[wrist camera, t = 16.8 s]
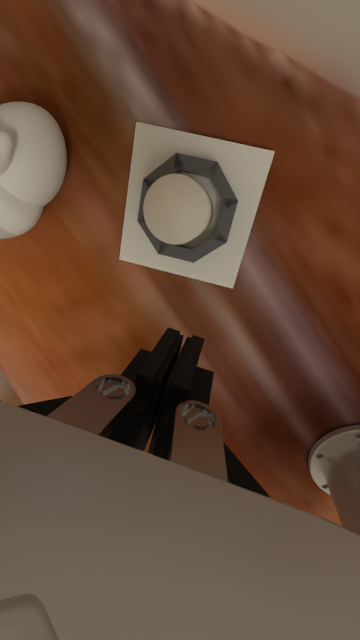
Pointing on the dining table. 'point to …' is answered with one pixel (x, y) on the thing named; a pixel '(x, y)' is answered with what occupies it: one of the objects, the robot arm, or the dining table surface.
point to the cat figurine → (28, 165)
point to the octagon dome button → (220, 183)
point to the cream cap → (177, 209)
